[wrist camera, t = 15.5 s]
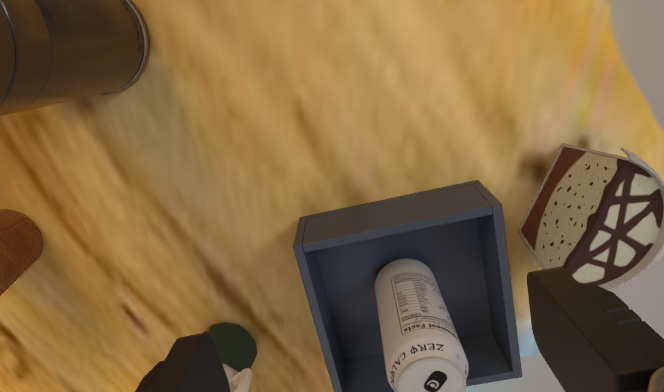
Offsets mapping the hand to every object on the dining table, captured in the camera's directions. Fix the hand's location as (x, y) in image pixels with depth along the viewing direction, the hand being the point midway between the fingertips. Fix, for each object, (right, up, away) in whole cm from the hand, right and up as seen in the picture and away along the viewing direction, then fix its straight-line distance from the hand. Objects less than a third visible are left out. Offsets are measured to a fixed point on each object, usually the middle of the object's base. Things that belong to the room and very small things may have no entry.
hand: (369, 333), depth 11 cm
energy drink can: (+6, -5, +35) cm, 36 cm away
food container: (+22, +3, +33) cm, 39 cm away
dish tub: (+6, -5, +36) cm, 36 cm away
